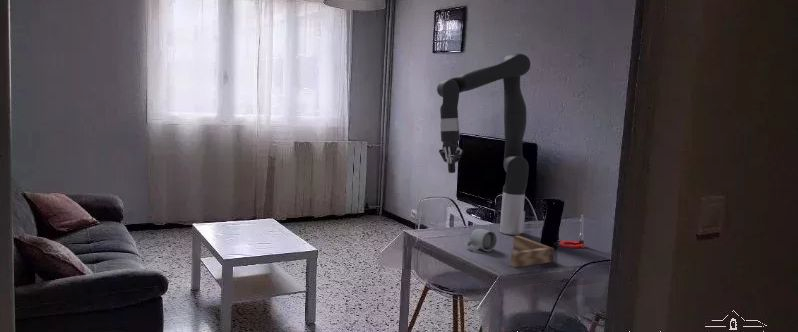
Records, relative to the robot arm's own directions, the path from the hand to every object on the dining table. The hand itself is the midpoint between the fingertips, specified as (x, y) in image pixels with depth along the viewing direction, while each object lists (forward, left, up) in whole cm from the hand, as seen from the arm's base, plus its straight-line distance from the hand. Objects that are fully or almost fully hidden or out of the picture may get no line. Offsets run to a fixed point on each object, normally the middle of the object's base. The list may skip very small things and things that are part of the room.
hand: (451, 172), depth 243 cm
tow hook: (-40, +30, -26) cm, 56 cm away
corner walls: (-6, +35, -26) cm, 44 cm away
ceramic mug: (0, +21, -26) cm, 34 cm away
